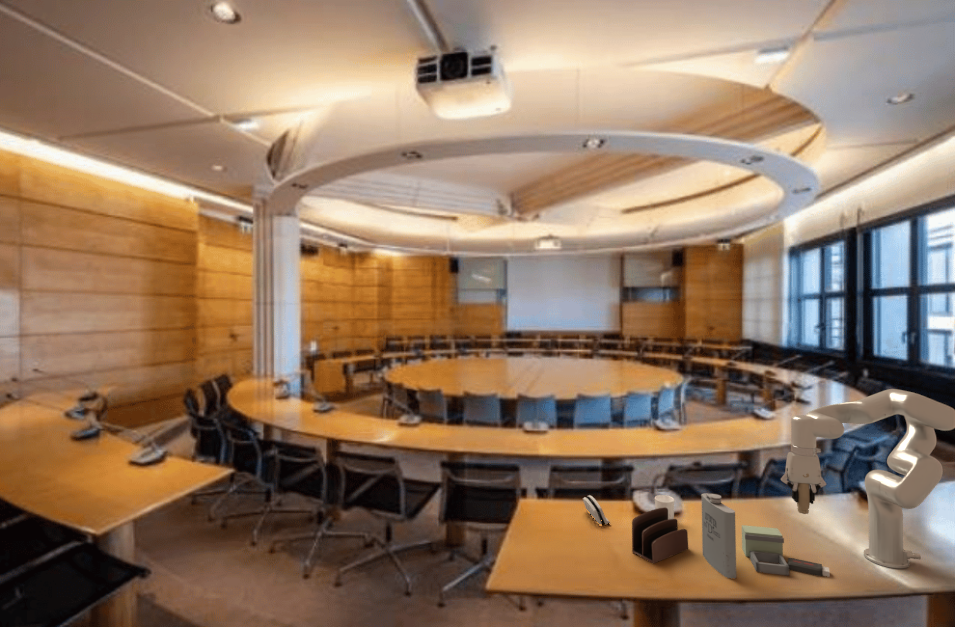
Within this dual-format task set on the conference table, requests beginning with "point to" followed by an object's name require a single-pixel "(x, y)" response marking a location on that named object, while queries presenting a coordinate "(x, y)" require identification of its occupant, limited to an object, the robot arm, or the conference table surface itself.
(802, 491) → the handle
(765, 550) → the green box on stand
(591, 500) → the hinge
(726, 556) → the flask
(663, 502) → the white cup
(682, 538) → the letter holder
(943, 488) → the conference table surface
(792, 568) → the usb drive
